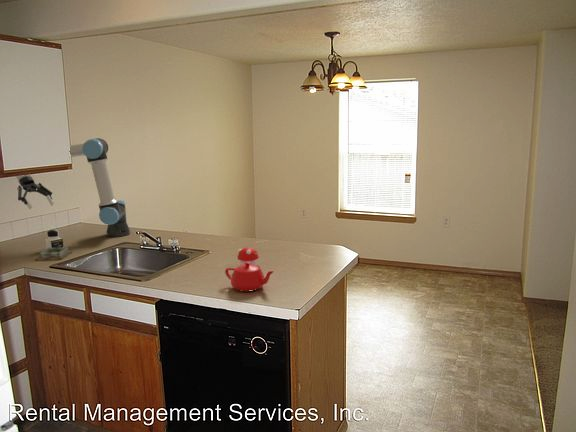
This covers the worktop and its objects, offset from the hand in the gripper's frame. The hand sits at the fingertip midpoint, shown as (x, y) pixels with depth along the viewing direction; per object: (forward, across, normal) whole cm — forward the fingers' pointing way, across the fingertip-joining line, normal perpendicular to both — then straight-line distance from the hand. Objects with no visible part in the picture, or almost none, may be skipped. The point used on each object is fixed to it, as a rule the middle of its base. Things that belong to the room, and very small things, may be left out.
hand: (41, 206), depth 283 cm
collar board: (+34, +9, -2) cm, 35 cm away
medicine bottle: (+25, +1, -11) cm, 28 cm away
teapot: (+124, -6, +89) cm, 152 cm away
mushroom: (+112, -27, +77) cm, 139 cm away
